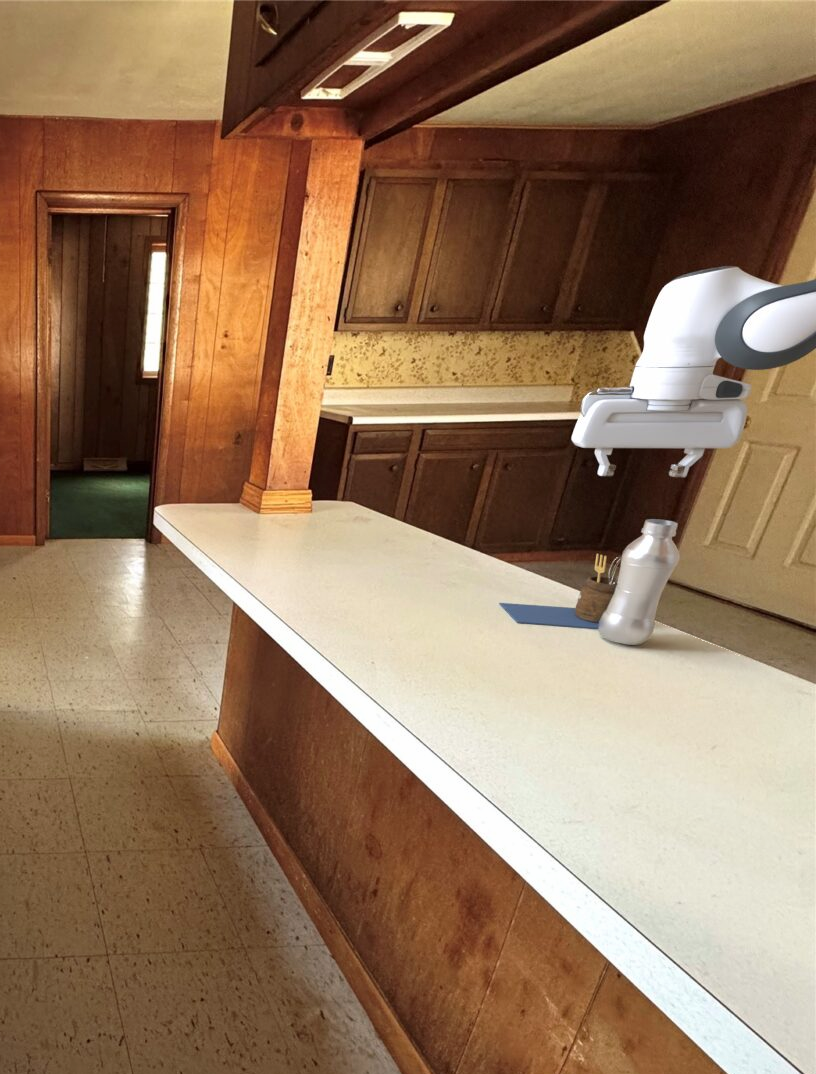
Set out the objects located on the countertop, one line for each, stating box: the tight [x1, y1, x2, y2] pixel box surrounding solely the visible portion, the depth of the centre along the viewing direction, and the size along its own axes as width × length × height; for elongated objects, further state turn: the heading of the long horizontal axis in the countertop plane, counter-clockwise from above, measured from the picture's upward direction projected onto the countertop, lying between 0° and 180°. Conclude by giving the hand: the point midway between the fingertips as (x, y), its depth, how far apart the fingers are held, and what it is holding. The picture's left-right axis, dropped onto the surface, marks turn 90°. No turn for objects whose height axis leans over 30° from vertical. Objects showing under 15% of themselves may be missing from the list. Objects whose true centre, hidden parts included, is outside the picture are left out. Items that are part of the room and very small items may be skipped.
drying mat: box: [498, 602, 599, 630], centre depth 117 cm, size 16×9×1 cm, turn 73°
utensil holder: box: [574, 553, 622, 623], centre depth 113 cm, size 6×6×12 cm
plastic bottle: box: [597, 518, 681, 646], centre depth 104 cm, size 6×7×20 cm
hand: (640, 476), depth 106 cm, fingers open, 8 cm apart
